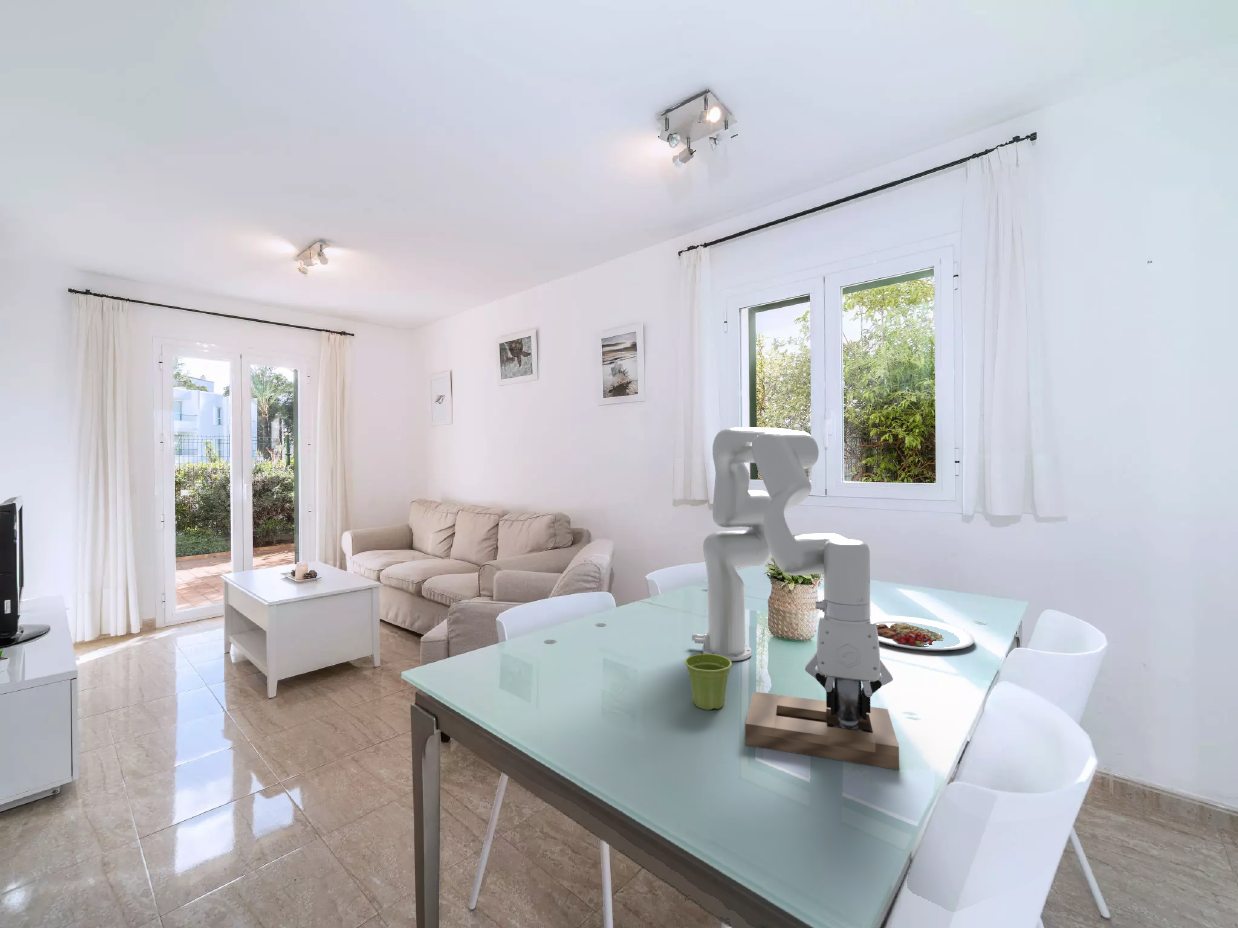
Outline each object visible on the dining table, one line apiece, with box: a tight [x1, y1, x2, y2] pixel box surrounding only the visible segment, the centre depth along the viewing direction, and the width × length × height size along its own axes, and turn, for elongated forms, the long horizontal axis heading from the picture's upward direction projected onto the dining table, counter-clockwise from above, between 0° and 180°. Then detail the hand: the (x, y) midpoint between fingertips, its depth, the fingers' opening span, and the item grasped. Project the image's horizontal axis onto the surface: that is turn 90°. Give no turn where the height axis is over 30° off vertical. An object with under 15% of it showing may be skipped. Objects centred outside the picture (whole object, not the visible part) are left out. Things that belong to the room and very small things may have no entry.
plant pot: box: [684, 653, 733, 711], centre depth 110 cm, size 9×9×9 cm
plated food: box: [870, 615, 975, 651], centre depth 151 cm, size 30×30×3 cm
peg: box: [832, 678, 865, 732], centre depth 94 cm, size 6×6×13 cm
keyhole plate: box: [744, 691, 900, 771], centre depth 96 cm, size 24×14×4 cm, turn 70°
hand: (848, 712), depth 94 cm, fingers closed on peg, 4 cm apart
